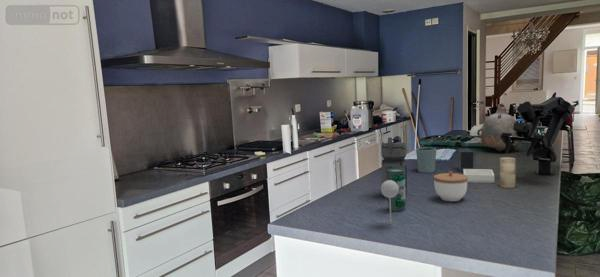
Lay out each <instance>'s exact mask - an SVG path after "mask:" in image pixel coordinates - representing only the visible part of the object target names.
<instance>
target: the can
mask: <svg viewBox="0 0 600 277" xmlns="http://www.w3.org/2000/svg"><path fill="white" fill-rule="evenodd" d="M388 180H392V181H394V182H396V183H397V185H398V187H399V192H398V194H397V195H396V196H395V197H393V198H391V212H403V211H405V210H406V209H407V208H406V207H407V206H406V205H407V204H406V195H405V170H404V169H401V168H391V169H388V170H387V181H388ZM387 208H388V211H390V205H389V198H387Z"/></svg>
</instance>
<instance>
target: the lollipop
mask: <svg viewBox="0 0 600 277" xmlns="http://www.w3.org/2000/svg"><path fill="white" fill-rule="evenodd" d="M380 192H381V194H382V196H384V197H385V198H387V199H388V198H389V205H390V210H389V225H392V211H391V198H393V197H395V196H396V195H397V194H398V192H399V187H398V185H397V183H396V182H394V181H392V180H388V181H385V182H384V183H383V184H382V183H381V186H380Z"/></svg>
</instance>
